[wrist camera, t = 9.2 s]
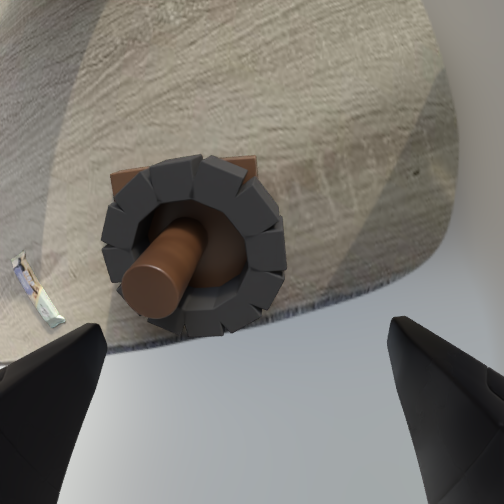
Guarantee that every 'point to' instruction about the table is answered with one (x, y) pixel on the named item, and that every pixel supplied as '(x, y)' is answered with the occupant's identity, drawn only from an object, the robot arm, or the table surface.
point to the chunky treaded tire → (239, 214)
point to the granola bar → (35, 291)
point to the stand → (182, 250)
